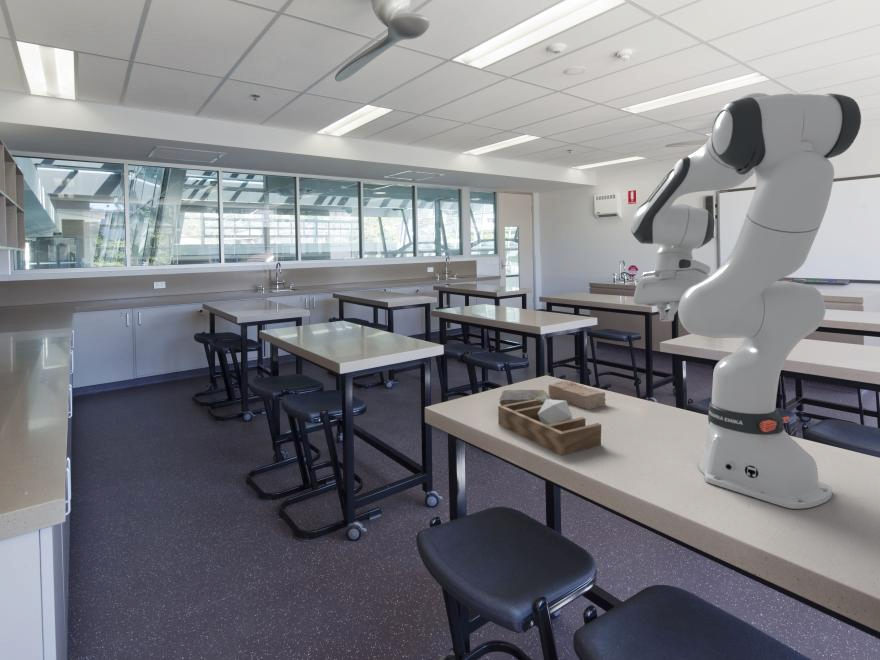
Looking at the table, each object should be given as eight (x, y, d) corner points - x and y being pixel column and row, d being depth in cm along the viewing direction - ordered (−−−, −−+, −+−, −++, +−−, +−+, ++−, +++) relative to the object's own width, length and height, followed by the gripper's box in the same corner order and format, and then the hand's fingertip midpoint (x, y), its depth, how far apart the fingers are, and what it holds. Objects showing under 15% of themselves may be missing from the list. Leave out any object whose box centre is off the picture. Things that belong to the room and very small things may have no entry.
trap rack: (600, 444, 122) (601, 424, 121) (561, 455, 116) (561, 434, 116) (534, 416, 144) (534, 399, 143) (498, 424, 138) (498, 406, 137)
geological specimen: (498, 389, 155) (549, 387, 153) (500, 409, 155) (550, 407, 154) (499, 398, 144) (553, 396, 142) (500, 419, 145) (554, 417, 143)
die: (556, 441, 127) (579, 409, 127) (527, 420, 130) (550, 389, 130) (560, 441, 134) (581, 411, 134) (533, 421, 138) (554, 392, 137)
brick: (607, 405, 153) (607, 390, 152) (587, 410, 149) (587, 394, 148) (566, 393, 167) (566, 379, 166) (547, 398, 163) (547, 383, 162)
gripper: (631, 270, 141) (625, 319, 139) (700, 259, 123) (694, 316, 122) (647, 276, 144) (641, 324, 142) (716, 266, 126) (711, 321, 124)
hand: (666, 320), depth 132 cm, fingers closed
